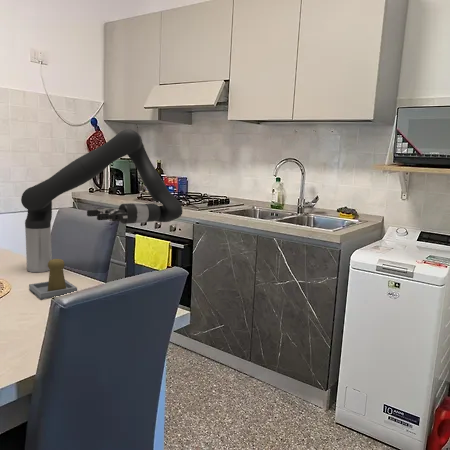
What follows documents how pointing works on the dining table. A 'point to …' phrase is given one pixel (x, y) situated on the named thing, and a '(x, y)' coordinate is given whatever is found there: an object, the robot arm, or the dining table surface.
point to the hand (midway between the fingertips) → (92, 215)
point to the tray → (42, 289)
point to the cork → (56, 275)
